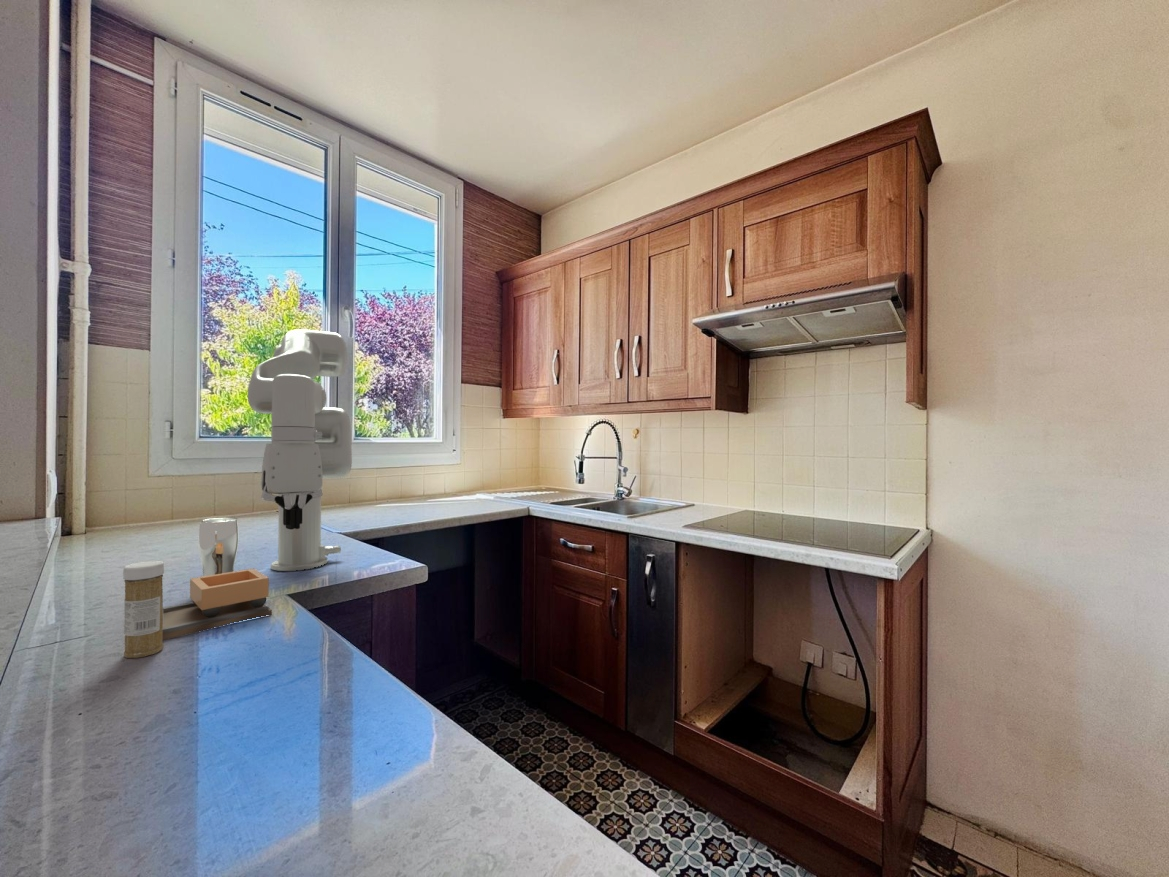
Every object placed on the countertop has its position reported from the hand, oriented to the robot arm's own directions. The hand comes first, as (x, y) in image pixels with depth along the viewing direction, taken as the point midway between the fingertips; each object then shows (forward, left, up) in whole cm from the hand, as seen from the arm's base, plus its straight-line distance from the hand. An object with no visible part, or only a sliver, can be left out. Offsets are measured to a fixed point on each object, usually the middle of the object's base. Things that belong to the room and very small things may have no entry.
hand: (292, 528), depth 98 cm
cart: (+10, -1, -13) cm, 17 cm away
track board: (+14, -1, -15) cm, 20 cm away
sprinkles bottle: (+23, +10, -15) cm, 30 cm away
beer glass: (+8, -20, -15) cm, 26 cm away
